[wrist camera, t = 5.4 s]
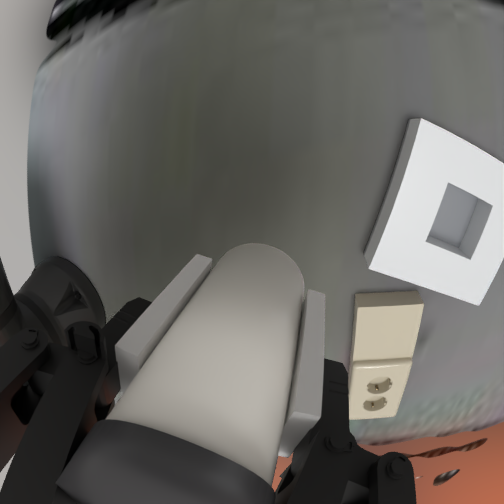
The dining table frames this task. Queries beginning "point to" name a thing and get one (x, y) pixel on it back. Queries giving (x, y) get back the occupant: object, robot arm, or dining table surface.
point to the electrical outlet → (382, 351)
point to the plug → (204, 396)
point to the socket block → (441, 215)
